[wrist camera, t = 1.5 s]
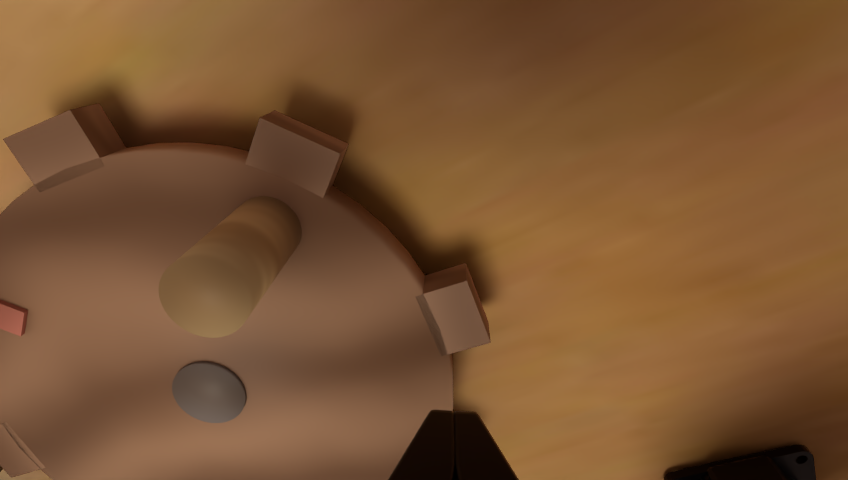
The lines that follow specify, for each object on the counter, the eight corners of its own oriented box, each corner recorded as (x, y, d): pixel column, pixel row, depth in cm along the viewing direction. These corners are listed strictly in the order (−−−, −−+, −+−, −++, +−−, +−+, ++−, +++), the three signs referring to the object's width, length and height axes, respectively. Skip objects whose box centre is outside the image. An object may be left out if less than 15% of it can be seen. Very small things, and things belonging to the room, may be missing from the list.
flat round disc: (553, 494, 24) (587, 648, 18) (148, 583, 28) (67, 731, 22) (361, -11, 16) (308, -32, 10) (-166, 218, 20) (-423, 299, 14)
